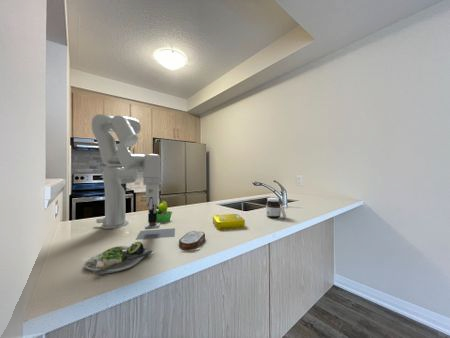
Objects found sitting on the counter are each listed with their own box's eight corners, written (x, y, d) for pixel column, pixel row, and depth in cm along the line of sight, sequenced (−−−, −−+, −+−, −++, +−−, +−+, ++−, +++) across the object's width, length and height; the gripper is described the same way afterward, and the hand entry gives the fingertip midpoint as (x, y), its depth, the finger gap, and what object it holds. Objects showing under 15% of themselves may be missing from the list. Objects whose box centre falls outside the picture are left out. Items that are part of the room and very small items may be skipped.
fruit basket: (147, 222, 112) (147, 202, 112) (157, 218, 120) (157, 199, 120) (165, 224, 109) (165, 203, 108) (174, 219, 117) (174, 200, 117)
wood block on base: (144, 229, 87) (144, 208, 87) (146, 226, 92) (146, 206, 92) (159, 228, 89) (158, 207, 89) (160, 225, 94) (159, 205, 94)
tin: (174, 249, 75) (195, 252, 73) (175, 240, 75) (196, 244, 73) (189, 235, 90) (207, 238, 88) (190, 228, 90) (208, 231, 88)
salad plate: (120, 283, 54) (120, 266, 54) (65, 277, 57) (65, 261, 57) (157, 253, 73) (157, 240, 73) (114, 249, 76) (114, 237, 76)
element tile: (245, 228, 102) (245, 219, 102) (217, 230, 98) (217, 221, 98) (237, 220, 116) (237, 212, 116) (212, 222, 113) (212, 214, 113)
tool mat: (135, 241, 83) (135, 239, 83) (140, 231, 95) (140, 230, 95) (174, 237, 87) (174, 236, 87) (175, 229, 99) (175, 228, 99)
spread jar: (264, 215, 128) (264, 197, 128) (281, 214, 129) (281, 197, 129) (271, 220, 116) (271, 200, 116) (289, 219, 117) (289, 200, 117)
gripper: (159, 182, 83) (159, 225, 83) (162, 180, 99) (162, 216, 99) (140, 182, 82) (140, 227, 82) (146, 180, 97) (146, 217, 97)
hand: (152, 221), depth 90 cm, fingers closed on wood block on base, 2 cm apart
